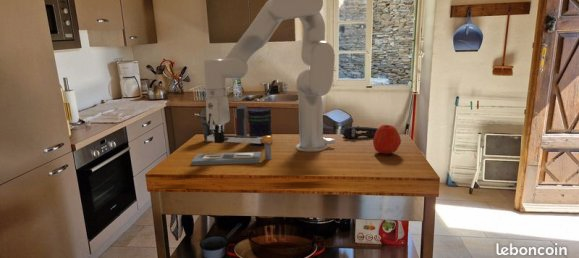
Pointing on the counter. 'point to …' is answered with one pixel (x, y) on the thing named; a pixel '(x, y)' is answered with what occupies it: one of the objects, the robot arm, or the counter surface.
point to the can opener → (352, 134)
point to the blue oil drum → (259, 123)
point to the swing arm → (244, 139)
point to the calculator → (241, 120)
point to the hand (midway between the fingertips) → (219, 142)
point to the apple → (386, 139)
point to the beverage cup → (205, 125)
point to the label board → (231, 157)
